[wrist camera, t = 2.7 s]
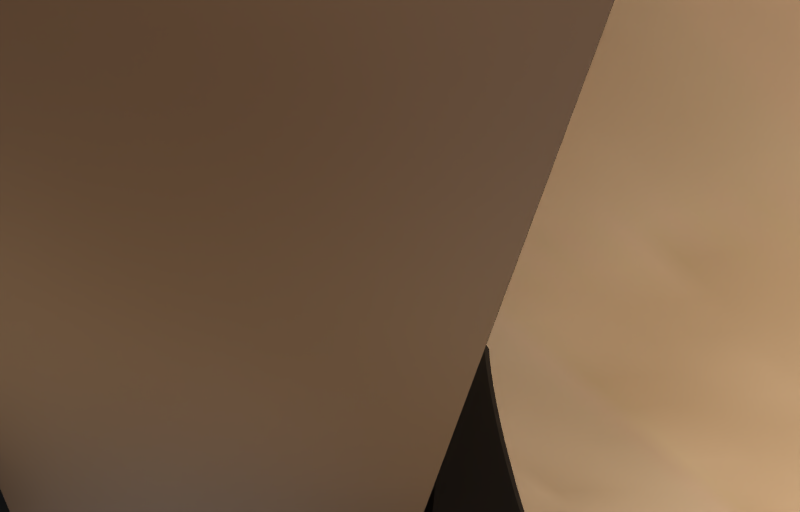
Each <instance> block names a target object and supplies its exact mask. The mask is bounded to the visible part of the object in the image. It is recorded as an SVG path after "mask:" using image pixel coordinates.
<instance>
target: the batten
mask: <svg viewBox="0 0 800 512" xmlns="http://www.w3.org/2000/svg"><path fill="white" fill-rule="evenodd" d="M613 3H614V0H0V490H1V492H2V494H3V497H4V499H5V501H6V504H7V506H8V508H9V511H10V512H424V510H425V508H426V505H427V502H428V500H429V497H430V494H431V491H432V489H433V486H434V483H435V481H436V478H437V475H438V473H439V470H440V467H441V465H442V462H443V459H444V457H445V454H446V451H447V449H448V446H449V443H450V440H451V438H452V435H453V432H454V430H455V427H456V424H457V422H458V419H459V416H460V414H461V411H462V408H463V406H464V403H465V400H466V398H467V395H468V392H469V389H470V387H471V384H472V381H473V379H474V376H475V373H476V371H477V368H478V365H479V363H480V360H481V357H482V355H483V352H484V349H485V347H486V344H487V341H488V338H489V336H490V333H491V330H492V328H493V325H494V322H495V320H496V317H497V314H498V312H499V309H500V306H501V304H502V301H503V298H504V296H505V293H506V290H507V287H508V285H509V282H510V279H511V277H512V274H513V271H514V269H515V266H516V263H517V261H518V258H519V255H520V253H521V250H522V247H523V245H524V242H525V239H526V236H527V234H528V231H529V228H530V226H531V223H532V220H533V218H534V215H535V212H536V210H537V207H538V204H539V202H540V199H541V196H542V194H543V191H544V188H545V185H546V183H547V180H548V177H549V175H550V172H551V169H552V167H553V164H554V161H555V159H556V156H557V153H558V151H559V148H560V145H561V143H562V140H563V137H564V134H565V132H566V129H567V126H568V124H569V121H570V118H571V116H572V113H573V110H574V108H575V105H576V102H577V100H578V97H579V94H580V92H581V89H582V86H583V83H584V81H585V78H586V75H587V73H588V70H589V67H590V65H591V62H592V59H593V57H594V54H595V51H596V49H597V46H598V43H599V41H600V38H601V35H602V32H603V30H604V27H605V24H606V22H607V19H608V16H609V14H610V11H611V8H612V6H613Z"/></svg>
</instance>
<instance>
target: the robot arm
mask: <svg viewBox="0 0 800 512" xmlns="http://www.w3.org/2000/svg"><path fill="white" fill-rule="evenodd" d="M0 512H10V511H9V508H8V506H7V504H6V501H5V499H4V497H3V494H2V492H1V490H0ZM424 512H524V509H523V506H522V503H521V499H520V496H519V493H518V489H517V486H516V482H515V479H514V475H513V471H512V467H511V463H510V460H509V456H508V452H507V448H506V444H505V440H504V436H503V432H502V428H501V423H500V418H499V413H498V409H497V404H496V399H495V393H494V387H493V381H492V375H491V367H490V358H489V349H488V347H487V345H486V347H485V349H484V352H483V355H482V357H481V360H480V363H479V365H478V368H477V371H476V373H475V376H474V379H473V381H472V384H471V387H470V389H469V392H468V395H467V398H466V400H465V403H464V406H463V408H462V411H461V414H460V416H459V419H458V422H457V424H456V427H455V430H454V432H453V435H452V438H451V440H450V443H449V446H448V449H447V451H446V454H445V457H444V459H443V462H442V465H441V467H440V470H439V473H438V475H437V478H436V481H435V483H434V486H433V489H432V491H431V494H430V497H429V500H428V502H427V505H426V508H425V510H424Z"/></svg>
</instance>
